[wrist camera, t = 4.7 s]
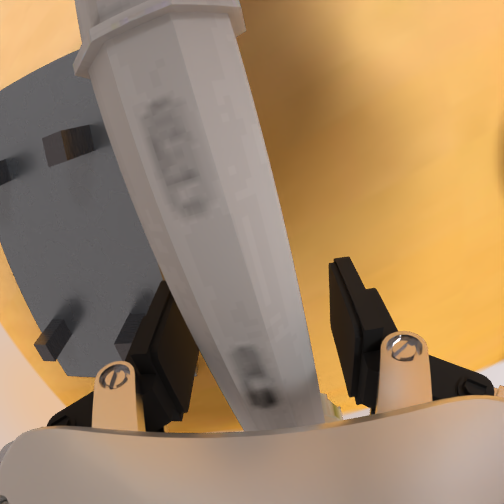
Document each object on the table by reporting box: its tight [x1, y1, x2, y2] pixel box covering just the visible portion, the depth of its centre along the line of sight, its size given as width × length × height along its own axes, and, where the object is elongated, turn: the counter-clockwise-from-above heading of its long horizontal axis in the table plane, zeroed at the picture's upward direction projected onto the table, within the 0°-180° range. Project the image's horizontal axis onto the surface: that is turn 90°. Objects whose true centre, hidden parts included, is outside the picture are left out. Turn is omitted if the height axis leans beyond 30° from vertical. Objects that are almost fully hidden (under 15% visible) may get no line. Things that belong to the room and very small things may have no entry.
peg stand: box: [0, 49, 198, 377], centre depth 23 cm, size 30×16×5 cm, turn 9°
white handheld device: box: [73, 0, 343, 431], centre depth 11 cm, size 5×7×25 cm
